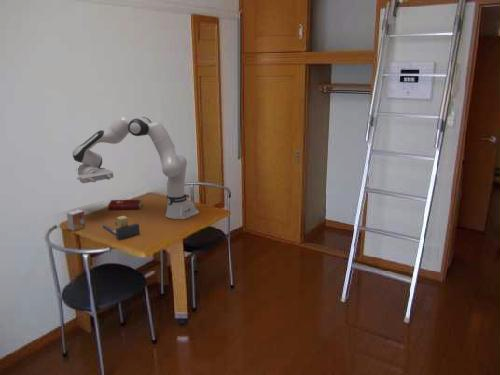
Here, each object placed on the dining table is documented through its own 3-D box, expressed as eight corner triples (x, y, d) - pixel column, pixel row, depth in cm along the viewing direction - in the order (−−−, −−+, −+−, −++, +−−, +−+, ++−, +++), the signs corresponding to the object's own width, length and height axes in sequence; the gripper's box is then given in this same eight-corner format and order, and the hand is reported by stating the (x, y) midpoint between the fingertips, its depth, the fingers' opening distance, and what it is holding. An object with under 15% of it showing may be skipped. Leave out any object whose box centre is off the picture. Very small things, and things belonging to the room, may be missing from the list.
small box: (73, 231, 249) (72, 214, 246) (68, 229, 252) (66, 212, 249) (85, 227, 255) (84, 211, 252) (80, 225, 259) (78, 209, 256)
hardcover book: (140, 210, 287) (139, 204, 286) (108, 211, 285) (107, 205, 283) (142, 204, 299) (141, 199, 297) (111, 205, 296) (111, 199, 295)
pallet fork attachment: (120, 223, 263) (119, 214, 262) (139, 234, 247) (139, 224, 246) (100, 228, 255) (99, 218, 253) (119, 240, 239) (118, 230, 237)
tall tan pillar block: (124, 231, 251) (123, 215, 248) (128, 233, 248) (127, 217, 245) (117, 233, 248) (116, 217, 245) (121, 235, 245) (120, 219, 242)
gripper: (75, 172, 257) (84, 177, 248) (106, 167, 271) (117, 171, 262) (76, 182, 259) (85, 187, 250) (107, 176, 273) (117, 181, 264)
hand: (102, 179), depth 256 cm, fingers open, 8 cm apart
